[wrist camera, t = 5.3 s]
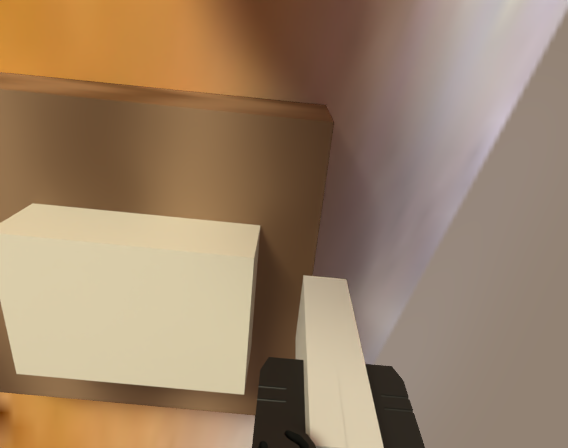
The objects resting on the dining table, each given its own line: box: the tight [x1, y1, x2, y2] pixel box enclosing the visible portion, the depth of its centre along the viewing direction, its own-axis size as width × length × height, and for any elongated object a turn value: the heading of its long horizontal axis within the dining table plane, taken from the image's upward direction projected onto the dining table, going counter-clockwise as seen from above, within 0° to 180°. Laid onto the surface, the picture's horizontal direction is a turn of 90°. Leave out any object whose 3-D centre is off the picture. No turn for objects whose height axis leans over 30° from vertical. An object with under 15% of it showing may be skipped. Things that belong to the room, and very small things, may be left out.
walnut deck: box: [0, 72, 334, 415], centre depth 17 cm, size 15×13×4 cm
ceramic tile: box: [0, 203, 261, 395], centre depth 14 cm, size 8×6×2 cm
